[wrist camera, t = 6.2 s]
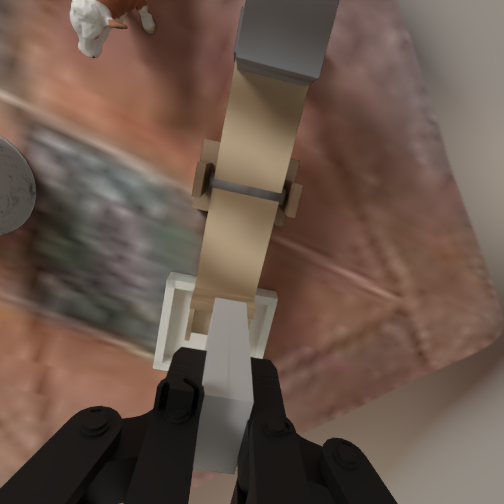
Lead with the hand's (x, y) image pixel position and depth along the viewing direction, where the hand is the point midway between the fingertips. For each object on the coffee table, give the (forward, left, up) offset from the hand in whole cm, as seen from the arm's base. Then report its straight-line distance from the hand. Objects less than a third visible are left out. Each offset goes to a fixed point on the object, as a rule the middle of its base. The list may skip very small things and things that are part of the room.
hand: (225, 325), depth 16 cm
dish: (+9, 0, -16) cm, 19 cm away
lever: (-6, 0, -11) cm, 12 cm away
